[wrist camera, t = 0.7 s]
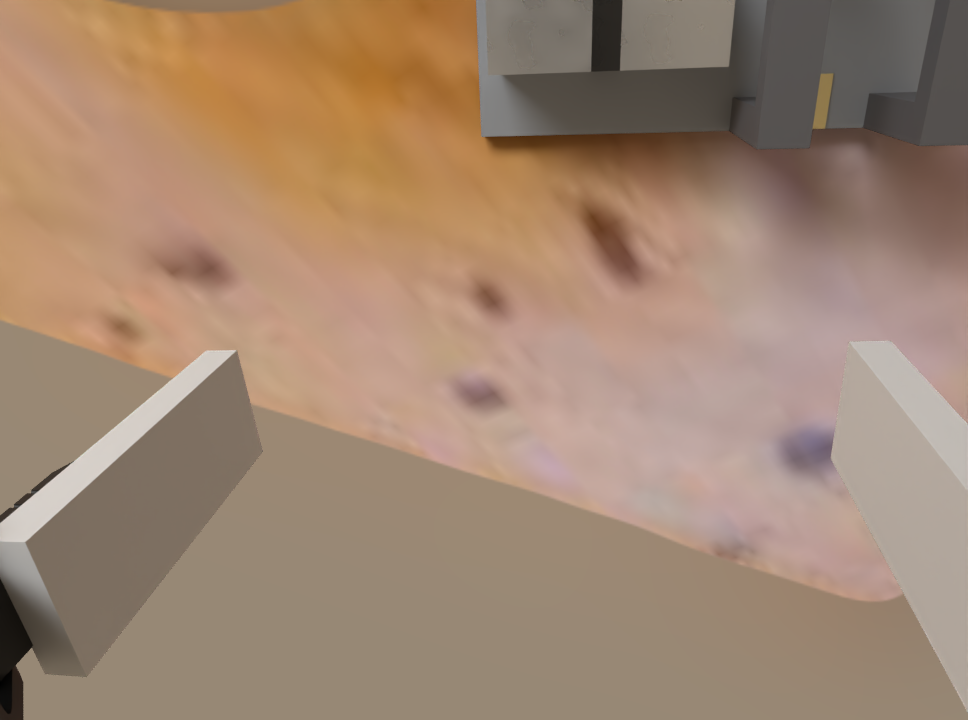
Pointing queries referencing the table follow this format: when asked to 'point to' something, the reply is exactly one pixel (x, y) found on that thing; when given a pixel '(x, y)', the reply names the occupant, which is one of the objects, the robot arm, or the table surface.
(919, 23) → the grey angular piece
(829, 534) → the table surface
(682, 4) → the grey block
